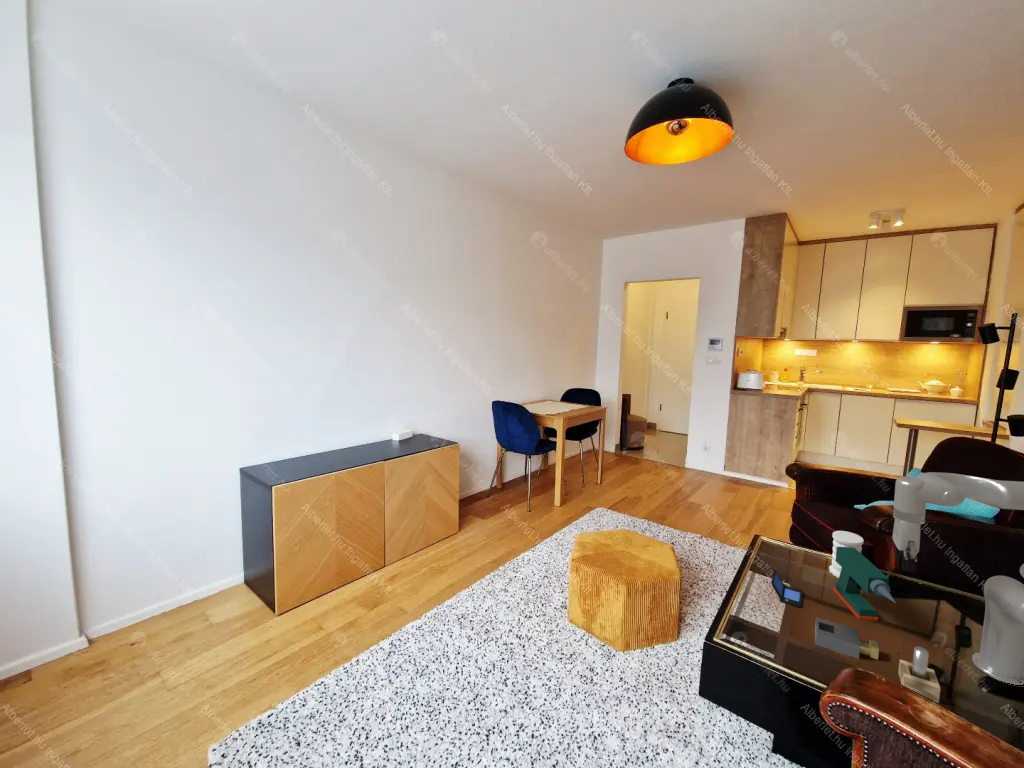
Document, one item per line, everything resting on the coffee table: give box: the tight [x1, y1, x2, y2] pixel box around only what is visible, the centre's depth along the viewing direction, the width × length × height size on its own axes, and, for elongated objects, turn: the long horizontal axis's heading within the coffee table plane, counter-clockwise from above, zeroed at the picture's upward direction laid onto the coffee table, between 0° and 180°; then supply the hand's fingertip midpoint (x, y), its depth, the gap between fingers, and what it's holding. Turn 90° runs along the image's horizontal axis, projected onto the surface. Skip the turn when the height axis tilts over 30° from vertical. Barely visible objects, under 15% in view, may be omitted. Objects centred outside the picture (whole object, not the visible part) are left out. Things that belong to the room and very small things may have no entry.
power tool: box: [832, 547, 897, 622], centre depth 162 cm, size 32×7×20 cm, turn 168°
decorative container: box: [828, 530, 864, 579], centre depth 188 cm, size 12×12×18 cm
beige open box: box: [898, 659, 941, 704], centre depth 131 cm, size 8×8×5 cm
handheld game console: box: [770, 569, 804, 608], centre depth 176 cm, size 12×11×7 cm
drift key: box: [859, 639, 880, 660], centre depth 147 cm, size 12×4×4 cm, turn 55°
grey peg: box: [911, 646, 930, 680], centre depth 131 cm, size 3×3×13 cm
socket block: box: [814, 617, 860, 660], centre depth 150 cm, size 12×9×5 cm
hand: (905, 563), depth 140 cm, fingers open, 9 cm apart
